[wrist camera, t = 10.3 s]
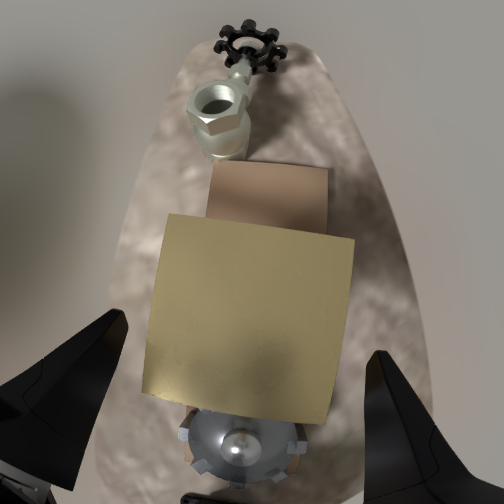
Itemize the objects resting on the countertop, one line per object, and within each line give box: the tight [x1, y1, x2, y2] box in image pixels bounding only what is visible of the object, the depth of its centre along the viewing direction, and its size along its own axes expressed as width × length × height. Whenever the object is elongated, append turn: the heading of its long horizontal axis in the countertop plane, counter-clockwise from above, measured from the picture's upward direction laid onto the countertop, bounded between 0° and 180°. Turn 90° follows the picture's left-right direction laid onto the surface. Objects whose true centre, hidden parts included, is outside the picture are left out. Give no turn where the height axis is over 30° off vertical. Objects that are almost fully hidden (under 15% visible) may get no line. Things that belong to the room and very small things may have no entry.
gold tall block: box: [142, 213, 355, 424], centre depth 13 cm, size 7×7×12 cm
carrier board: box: [185, 160, 328, 474], centre depth 19 cm, size 24×9×1 cm, turn 174°
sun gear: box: [179, 407, 308, 489], centre depth 16 cm, size 8×8×4 cm
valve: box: [186, 19, 288, 163], centre depth 20 cm, size 7×7×12 cm
